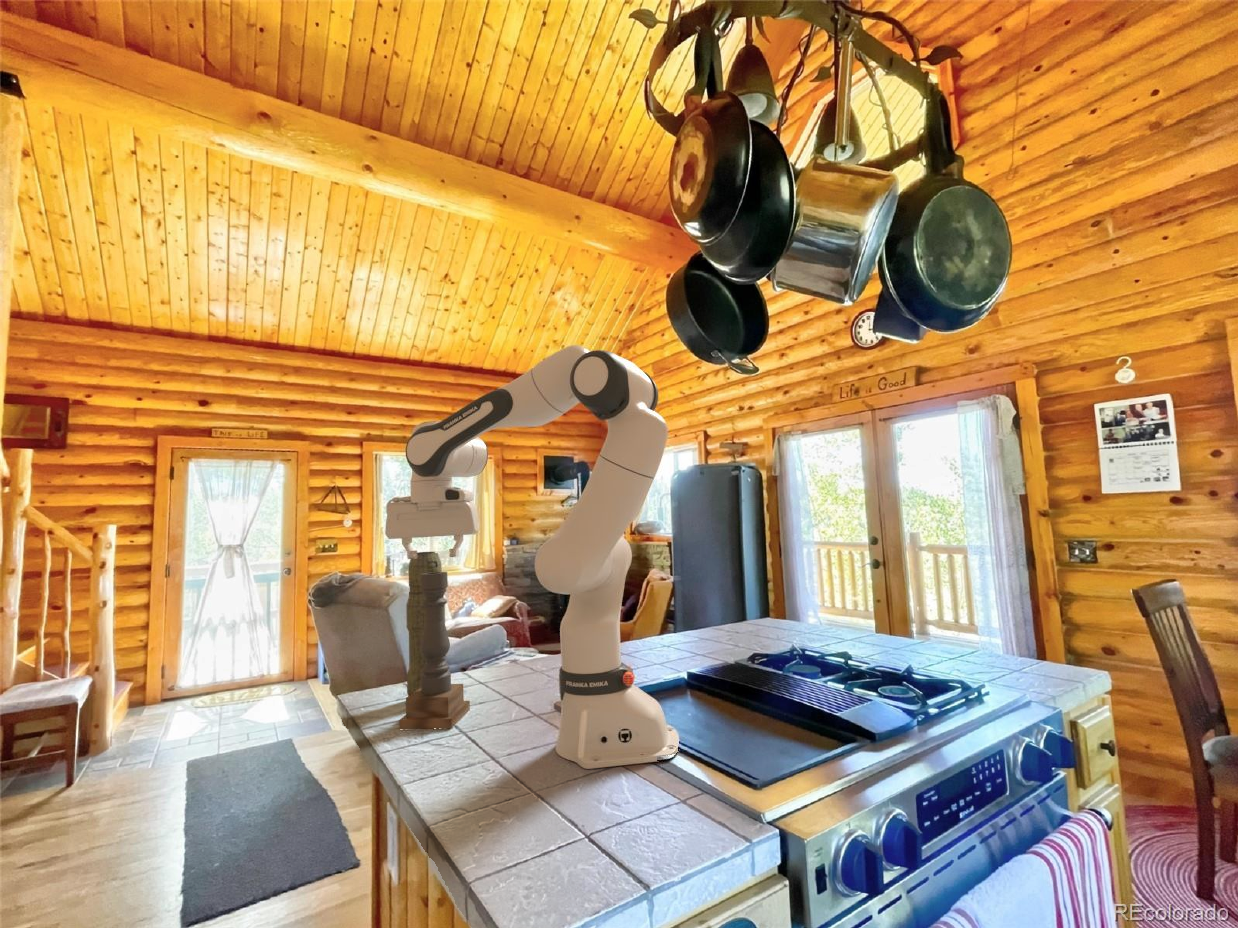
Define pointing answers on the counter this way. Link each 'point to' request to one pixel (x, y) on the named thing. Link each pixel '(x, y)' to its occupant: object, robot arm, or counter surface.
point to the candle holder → (435, 635)
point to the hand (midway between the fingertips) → (433, 557)
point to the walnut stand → (434, 709)
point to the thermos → (418, 615)
